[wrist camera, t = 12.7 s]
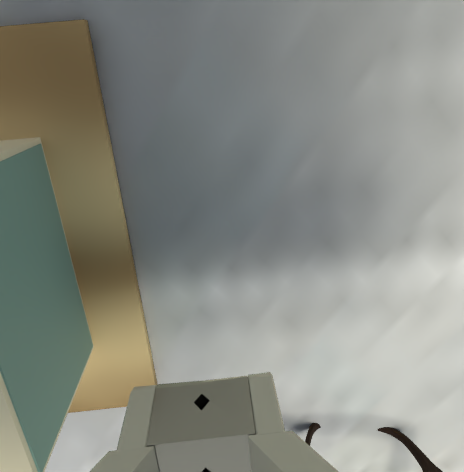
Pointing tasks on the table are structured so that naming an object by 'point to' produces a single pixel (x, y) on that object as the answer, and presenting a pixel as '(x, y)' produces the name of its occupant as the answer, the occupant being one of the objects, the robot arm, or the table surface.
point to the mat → (80, 195)
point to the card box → (35, 312)
